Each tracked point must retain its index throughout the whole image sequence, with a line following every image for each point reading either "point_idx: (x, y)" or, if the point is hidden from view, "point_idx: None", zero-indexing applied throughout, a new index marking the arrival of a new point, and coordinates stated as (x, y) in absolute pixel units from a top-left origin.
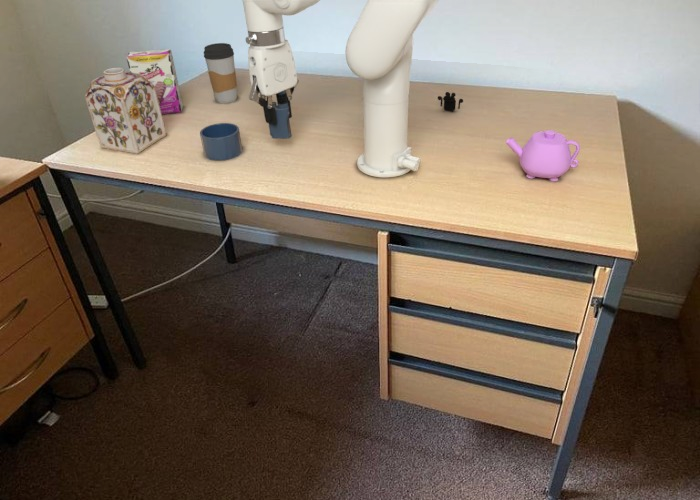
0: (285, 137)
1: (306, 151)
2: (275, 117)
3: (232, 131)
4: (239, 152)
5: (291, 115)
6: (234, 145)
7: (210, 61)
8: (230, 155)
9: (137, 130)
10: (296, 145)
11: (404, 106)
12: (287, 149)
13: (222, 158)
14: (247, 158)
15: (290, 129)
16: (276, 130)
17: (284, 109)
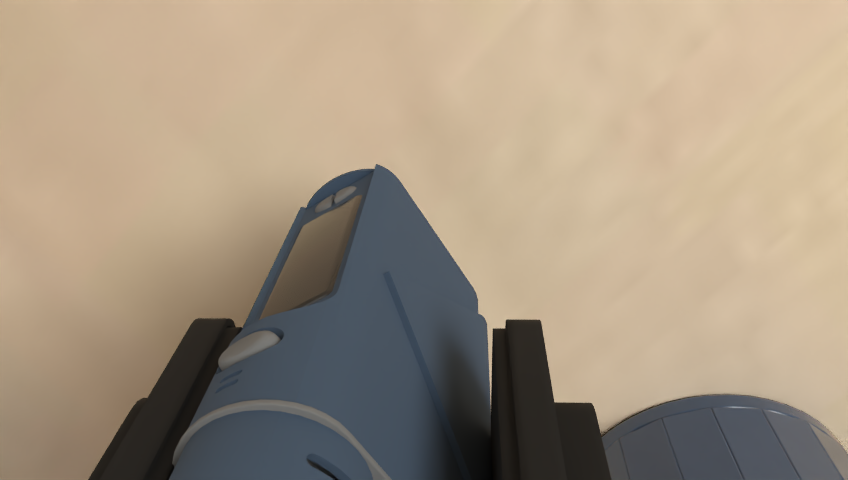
0: (405, 196)
1: (272, 10)
2: (521, 385)
3: None
4: (678, 412)
5: (193, 332)
6: (754, 466)
7: None
8: (779, 418)
9: None
10: (260, 181)
11: None
12: None
13: (827, 434)
14: (695, 315)
15: (288, 241)
16: (456, 311)
17: (320, 410)
